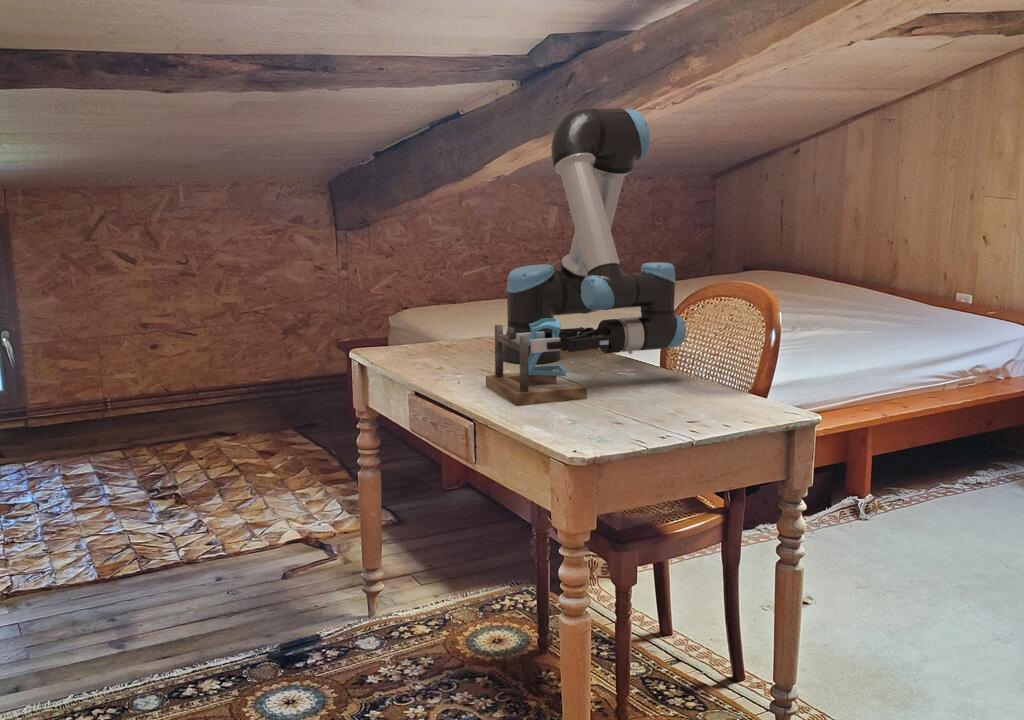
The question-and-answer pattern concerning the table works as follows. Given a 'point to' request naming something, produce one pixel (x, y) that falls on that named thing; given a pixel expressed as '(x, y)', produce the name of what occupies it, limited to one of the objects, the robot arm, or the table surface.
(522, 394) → the wooden post frame
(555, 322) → the chair
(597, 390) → the table surface
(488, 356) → the table surface
